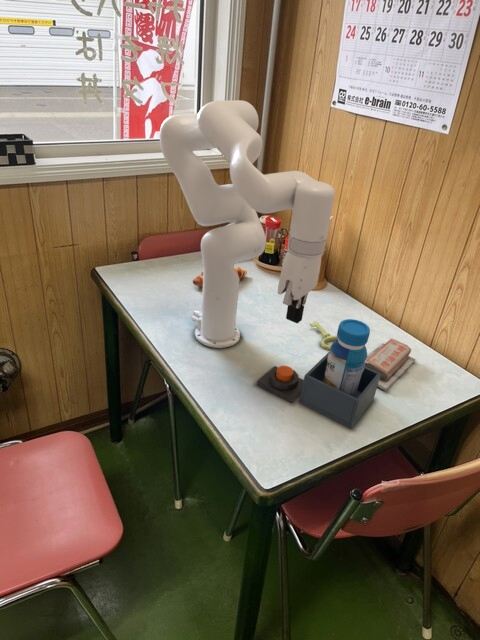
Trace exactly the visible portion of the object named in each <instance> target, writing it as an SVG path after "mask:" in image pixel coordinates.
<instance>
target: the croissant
mask: <svg viewBox="0 0 480 640" xmlns="http://www.w3.org/2000/svg"><path fill="white" fill-rule="evenodd" d="M234 269H235V271H236V272H237V274H238V276H239V281H240V280H241V279H244V278H245V277H246V276H247V273H248V270H247V269H244V268H242V267H240V266H238V267H236V266H234ZM192 284H193V285H194V286H197V287H202V288H203V271H202V272H201V273H200V274H199V275H198V276H196V277H195V278H194V279H193V280H192Z"/></svg>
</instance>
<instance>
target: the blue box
mask: <svg viewBox="0 0 480 640" xmlns="http://www.w3.org/2000/svg"><path fill="white" fill-rule="evenodd" d="M329 353H330V351H328V352H327V353H326V354H325V355H324V356H323V357H322V358H321V359H320V360H319V361H318V362H317V363H316V364H315V365H314V366H312V367H311V369H309V370H308V371H307V372H306V373H305V374H304V375H303V376H304V377H303V380H304V381H303V386H302V391H301V394H300V395H299V403H301V404H302V405H304V406H306V407H308V408H310V409H312V410H314V411H316V412H318V413H319V414H322V415H324V416H326V417H328V418H329V419H332V420H334V421H335V422H337V423H340V424H342V425H344V426H345V427H347V428H349V429H352V428H353V427H354V426H355V424H356V423H357V421H359V419H360V418H361V417H362V415H363V414H364V412H366V410H367V409H368V407H369V406H370V405H371V403H372V402H373V401H374V399H375V395H376V392H377V389H378V383H379V379H380V376H381V373H378V372H376V371H374V370H372V369H370V368H367V367H365V368H364V371H363V372H362V375H361V378H360V382H359V385H358V389H357V393H356V398H355V397H353V396H351V395H349V394H347V393H345V392H343V391H340V390H338V389H336V388H334V387H332V386H330V385H328V384H326V383H324V382H323V381H324V376H325V372H326V367H327V358H328V355H329Z"/></svg>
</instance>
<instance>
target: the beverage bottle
mask: <svg viewBox="0 0 480 640" xmlns="http://www.w3.org/2000/svg"><path fill="white" fill-rule="evenodd" d="M337 327H338V328H337V332H336V336H337V339H336V340H335V341H332V344H331V345H330V346H331V348H330V350H329V352H330V353H329V355H328V358H327V367H326V372H325V376H324V381H323V382H324V383H326V384H328V385H330V386H332V387H334V388H336V389H338V390H340V391H343V392H345V393H347V394H349V395H351V396H353V397H355V398H356V393H357V389H358V385H359V382H360V378H361V375H362V372H363V371H364V368H365V360H366V358H367V356H368V350H367V347H366V345H367V343H368V342H369V338H370V334H371V328H370V327H369V325H368V324H367V323H365V322H363V321H361V320H358V319H353V318H347V319H344V320H343V319H342V320H341V321H340V323H339V325H338V326H337Z"/></svg>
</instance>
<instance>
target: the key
mask: <svg viewBox="0 0 480 640" xmlns="http://www.w3.org/2000/svg"><path fill="white" fill-rule="evenodd" d="M309 326H310V328H314V327H315V328H316V329H317V330H318V331H319V332H320V333H321V334H322V335H323V339H322V340H321V343H320V346H321V347H322V349H324V350H327V351H330V348H331V345H329V344H328V345H327V344H326V343H327V342H334V341H335V340H336V339H337V335H332V336H331V334H330V333H328V332H327V331H326V330H325V329H324V328H323V326H322V325H320V323H319V322H318V321H314V322H313V323H309Z"/></svg>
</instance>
